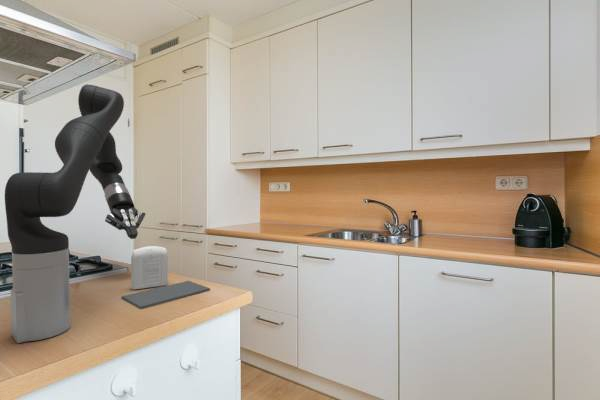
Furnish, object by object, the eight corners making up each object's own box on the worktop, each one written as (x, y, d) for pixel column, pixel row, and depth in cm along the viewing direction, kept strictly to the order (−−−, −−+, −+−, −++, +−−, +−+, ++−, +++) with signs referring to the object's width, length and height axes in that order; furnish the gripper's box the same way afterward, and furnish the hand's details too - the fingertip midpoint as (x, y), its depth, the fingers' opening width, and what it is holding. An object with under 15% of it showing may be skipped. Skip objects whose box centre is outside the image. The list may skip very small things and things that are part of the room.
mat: (140, 309, 81) (140, 306, 81) (121, 298, 89) (121, 296, 89) (210, 290, 96) (210, 288, 96) (188, 282, 104) (188, 280, 104)
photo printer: (166, 282, 104) (165, 243, 104) (169, 285, 101) (168, 245, 100) (130, 287, 99) (129, 247, 98) (132, 291, 95) (131, 249, 95)
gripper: (100, 191, 107) (115, 232, 100) (141, 191, 117) (157, 228, 110) (95, 206, 111) (109, 247, 104) (135, 205, 121) (150, 241, 114)
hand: (134, 237), depth 107 cm, fingers closed
